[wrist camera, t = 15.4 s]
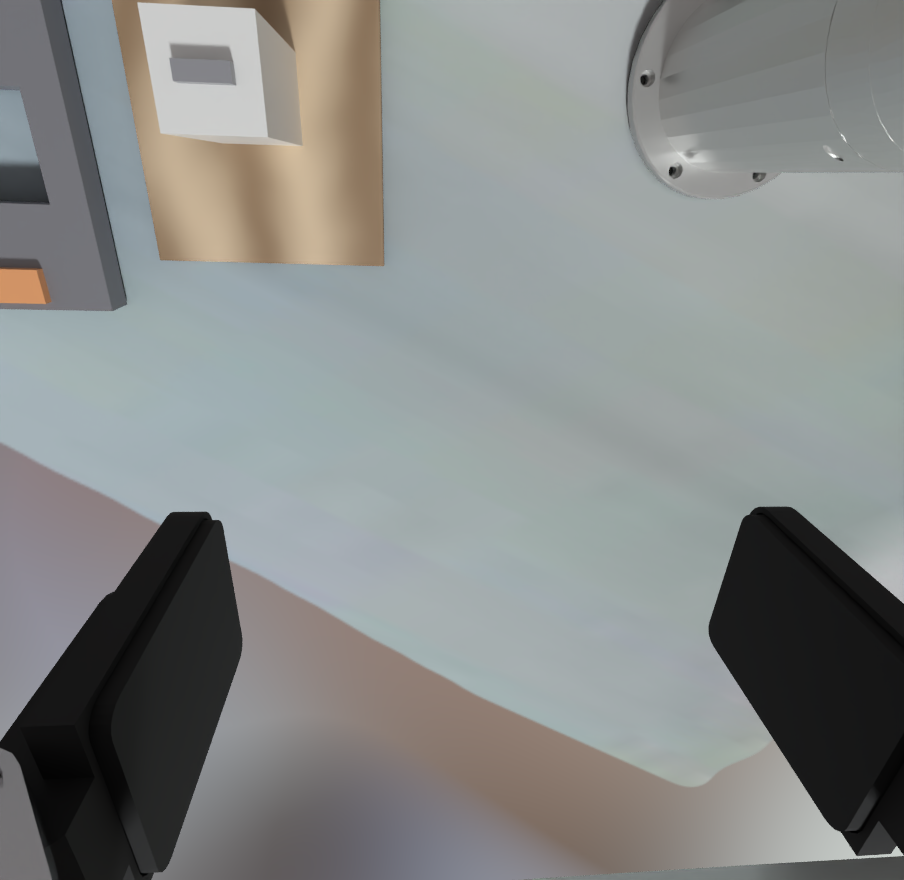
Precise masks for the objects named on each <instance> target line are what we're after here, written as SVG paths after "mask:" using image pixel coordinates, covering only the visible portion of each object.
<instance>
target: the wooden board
mask: <svg viewBox="0 0 904 880" xmlns="http://www.w3.org/2000/svg"><path fill="white" fill-rule="evenodd" d="M137 2H141V3H159V4H178V5H196V6H215V7H233V8H252V9H256V11H257V12H258V13H259V14H260V15H261V16H262V17H263V18H264V19H265V20H266V21H267V22H268V23H269V24H270V26H271V27H272V28H273V29H274V30H275V31H276V32H277V33H278V34H279V35H280V36H281V37H282V38H283V39H284V41H285V42H286V43H287V44H288V45H289V46H290V47H291V48H292V49H293V50H294V51H295V53H296V66H297V79H298V91H299V104H300V117H301V129H302V142H303V146H284V145H256V144H227V143H217V142H211V141H205V140H199V139H192V138H186V137H180V136H174V135H167V134H161V133H160V128H159V122H158V117H157V111H156V105H155V100H154V94H153V88H152V83H151V77H150V71H149V66H148V60H147V55H146V49H145V43H144V38H143V32H142V26H141V21H140V15H139V9H138V4H137ZM112 4H113V9H114V15H115V20H116V26H117V31H118V36H119V42H120V47H121V52H122V58H123V63H124V68H125V74H126V79H127V84H128V90H129V95H130V100H131V106H132V111H133V116H134V122H135V127H136V133H137V138H138V143H139V149H140V154H141V159H142V165H143V170H144V175H145V181H146V186H147V191H148V197H149V202H150V207H151V213H152V218H153V223H154V229H155V234H156V239H157V245H158V250H159V256H160V260H176V261H213V262H251V263H288V264H325V265H362V266H384V217H383V156H382V95H381V35H380V0H112Z"/></svg>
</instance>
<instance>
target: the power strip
mask: <svg viewBox="0 0 904 880" xmlns="http://www.w3.org/2000/svg"><path fill="white" fill-rule="evenodd" d="M0 89H1V90H20V92H21V95H22V99H23V103H24V107H25V111H26V115H27V118H28V122H29V126H30V130H31V134H32V138H33V142H34V145H35V149H36V153H37V157H38V161H39V165H40V168H41V172H42V176H43V180H44V184H45V188H46V191H47V195H48V199H49V202H24V201H0V309H33V310H84V311H114V310H116V309H118V308H120V307H122V306H124V305H126V304H127V302H126V297H125V293H124V288H123V284H122V279H121V275H120V270H119V265H118V261H117V256H116V252H115V247H114V243H113V238H112V234H111V229H110V225H109V220H108V215H107V211H106V206H105V202H104V197H103V193H102V188H101V184H100V179H99V174H98V170H97V165H96V161H95V156H94V152H93V147H92V143H91V138H90V133H89V129H88V124H87V120H86V115H85V111H84V106H83V102H82V97H81V93H80V88H79V83H78V79H77V74H76V70H75V65H74V61H73V56H72V52H71V47H70V42H69V38H68V33H67V29H66V24H65V20H64V15H63V11H62V6H61V2H60V0H0Z"/></svg>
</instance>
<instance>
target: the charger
mask: <svg viewBox="0 0 904 880" xmlns="http://www.w3.org/2000/svg"><path fill="white" fill-rule="evenodd" d="M137 4H138V9H139V15H140V21H141V26H142V32H143V38H144V43H145V49H146V55H147V60H148V66H149V71H150V77H151V83H152V88H153V94H154V100H155V105H156V111H157V117H158V122H159V128H160V133H161V134H167V135H174V136H180V137H186V138H192V139H199V140H205V141H211V142H217V143H227V144H256V145H284V146H303V142H302V129H301V117H300V104H299V91H298V79H297V66H296V53H295V51H294V50H293V49H292V48H291V47H290V46H289V45H288V44H287V43H286V42H285V41H284V39H283V38H282V37H281V36H280V35H279V34H278V33H277V32H276V31H275V30H274V29H273V28H272V27H271V26H270V24H269V23H268V22H267V21H266V20H265V19H264V18H263V17H262V16H261V15H260V14H259V13H258V12H257V11H256V9H252V8H233V7H215V6H196V5H178V4H159V3H141V2H137Z"/></svg>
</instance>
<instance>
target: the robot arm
mask: <svg viewBox="0 0 904 880" xmlns="http://www.w3.org/2000/svg"><path fill="white" fill-rule="evenodd" d="M641 76H644V77H645V78H646V81H645V84H644V85H642V84H641V81H640V77H641ZM627 110H628V117H629V124H630V131H631V134H632V137H633V140H634V143H635V146H636V149H637V151H638V153H639V155H640V157H641V158H642V160H643V162H644V164H645V166H646V167H647V168H648V169H649V170H650V172H651V173H652V174H653V175H654V176H655V177H656V178H657V179H658V180H659V181H660V182H662V183H663V184H664V185H666V186H667V187H669V188H670V189H672V190H674V191H676V192H679V193H681V194H684V195H686V196H690V197H696V198H702V199H724V198H730V197H736V196H740V195H743V194H745V193H748V192H751V191H753V190H756V189H758V188H760V187H761V186H763V185H765V184H766V183H768V182H770V181H771V180H773V179H775V178H776V177H777V176H778V175H780V174H781V173H835V172H904V0H664V1H663V3H662V4H661V5H660V7H659V8H658V9H657V11H656V12H655V13H654V15H653V16H652V18H651V20H650V22H649V24H648V26H647V28H646V30H645V31H644V33H643V35H642V37H641V39H640V42H639V45H638V48H637V51H636V54H635V57H634V59H633V63H632V68H631V73H630V78H629V84H628V105H627ZM670 167H672V168H673V172H672V174H671V175H669V169H670ZM753 173H755V175H754V177H753ZM709 637H710V640H711V642H712V644H713V646H714V648H715V649H716V651H717V652H718V654H719V655H720V657H721V659H722V660H723V662H724V663H725V665H726V666H727V668H728V669H729V671H730V673H731V674H732V676H733V677H734V679H735V680H736V682H737V683H738V685H739V686H740V688H741V690H742V691H743V693H744V694H745V696H746V697H747V699H748V700H749V702H750V703H751V705H752V707H753V708H754V710H755V711H756V713H757V714H758V716H759V717H760V719H761V721H762V722H763V724H764V725H765V727H766V728H767V730H768V731H769V733H770V734H771V736H772V738H773V739H774V741H775V742H776V744H777V745H778V747H779V748H780V750H781V752H782V753H783V755H784V756H785V758H786V759H787V761H788V762H789V764H790V765H791V767H792V769H793V770H794V771H795V773H796V774H797V776H798V778H799V779H800V781H801V782H802V784H803V786H804V787H805V789H806V790H807V792H808V793H809V795H810V796H811V798H812V800H813V801H814V803H815V804H816V806H817V807H818V809H819V810H820V812H821V813H822V815H823V817H824V818H825V819H826V821H827V822H828V823H829V825H831V826H832V827H833V828H834V829H835V830H838V831H841V833H842V834H843V836H844V837H845V839H846V840H847V842H848V843H849V845H850V846H851V848H852V850H853V851H854V852H855V854H856V855H857V856H862V855H879V854H891V853H892V851H893V850H894V848H895V847H896V846H898V848H899V849H900V850H901V852H902V853H903V855H904V604H903V603H902V602H901V601H900V600H899V599H898V598H896V597H895V596H894V595H893V594H892V593H891V592H889V591H888V590H887V589H886V588H885V587H884V586H883V585H881V584H880V583H879V582H878V581H877V580H876V579H875V578H873V577H872V576H871V575H870V574H869V573H868V572H866V571H865V570H864V569H863V568H862V567H861V566H860V565H858V564H857V563H856V562H855V561H854V560H853V559H852V558H850V557H849V556H848V555H847V554H846V553H845V552H843V551H842V550H841V549H840V548H839V547H838V546H837V545H835V544H834V543H833V542H832V541H831V540H830V539H829V538H827V537H826V536H825V535H824V534H823V533H822V532H820V531H819V530H818V529H817V528H816V527H815V526H814V525H812V524H811V523H810V522H809V521H808V520H807V519H806V518H804V517H803V516H802V515H801V514H800V513H799V512H797V511H796V510H795V509H793V508H791V507H757V508H755V509H754V510H753V511H752V512H751V513H750V515H747V516H745V517H744V518H743V520H742V522H741V525H740V528H739V532H738V535H737V538H736V541H735V544H734V547H733V550H732V554H731V557H730V560H729V563H728V566H727V569H726V572H725V575H724V579H723V582H722V585H721V588H720V591H719V594H718V597H717V601H716V604H715V607H714V610H713V613H712V616H711V619H710V622H709ZM241 651H242V633H241V627H240V622H239V616H238V610H237V605H236V599H235V593H234V587H233V582H232V576H231V570H230V564H229V559H228V553H227V547H226V541H225V536H224V530H223V526H222V523H221V521H219V520H212V518H211V516H210V514H209V513H208V512H172V513H170V514H169V515H168V516H167V517H166V519H165V520H164V522H163V523H162V525H161V526H160V527H159V529H158V530H157V532H156V533H155V535H154V536H153V537H152V539H151V540H150V542H149V543H148V545H147V546H146V547H145V549H144V550H143V552H142V553H141V555H140V556H139V557H138V559H137V560H136V562H135V563H134V564H133V566H132V567H131V569H130V570H129V572H128V573H127V574H126V576H125V577H124V579H123V580H122V582H121V583H120V585H119V586H118V587H117V589H116V590H115V592H112V593H110V594H108V595H106V597H105V598H104V599H103V600H102V601H101V602H100V603H99V604H98V606H97V607H96V609H95V610H94V611H93V613H92V614H91V616H90V617H89V618H88V620H87V621H86V623H85V624H84V625H83V627H82V628H81V630H80V631H79V632H78V634H77V635H76V637H75V638H74V639H73V641H72V642H71V644H70V645H69V646H68V648H67V649H66V650H65V652H64V653H63V655H62V656H61V657H60V659H59V660H58V662H57V663H56V664H55V666H54V667H53V669H52V670H51V671H50V673H49V674H48V676H47V677H46V678H45V680H44V681H43V683H42V684H41V686H40V687H39V688H38V690H37V691H36V692H35V694H34V695H33V696H32V698H31V699H30V701H29V702H28V703H27V705H26V706H25V708H24V709H23V711H22V712H21V713H20V715H19V716H18V717H17V719H16V720H15V722H14V723H13V725H12V726H11V727H10V729H9V730H8V731H7V733H6V734H5V736H4V737H3V739H2V740H1V741H0V880H151V879H152V876H153V874H154V872H163V871H164V870H165V869H166V867H167V866H168V864H169V861H170V859H171V857H172V854H173V851H174V848H175V845H176V842H177V839H178V837H179V834H180V831H181V828H182V825H183V822H184V819H185V816H186V814H187V811H188V808H189V805H190V802H191V799H192V796H193V793H194V790H195V788H196V784H197V782H198V779H199V776H200V773H201V770H202V767H203V764H204V761H205V759H206V756H207V753H208V750H209V747H210V744H211V741H212V738H213V735H214V733H215V730H216V727H217V724H218V721H219V718H220V715H221V712H222V709H223V706H224V704H225V701H226V698H227V695H228V692H229V689H230V686H231V683H232V680H233V677H234V675H235V672H236V669H237V666H238V663H239V660H240V656H241ZM525 880H904V856H899V857H882V858H865V859H847V860H830V861H812V862H795V863H778V864H762V865H745V866H729V867H712V868H696V869H681V870H664V871H649V872H634V873H617V874H603V875H587V876H572V877H556V878H540V879H525Z"/></svg>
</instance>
